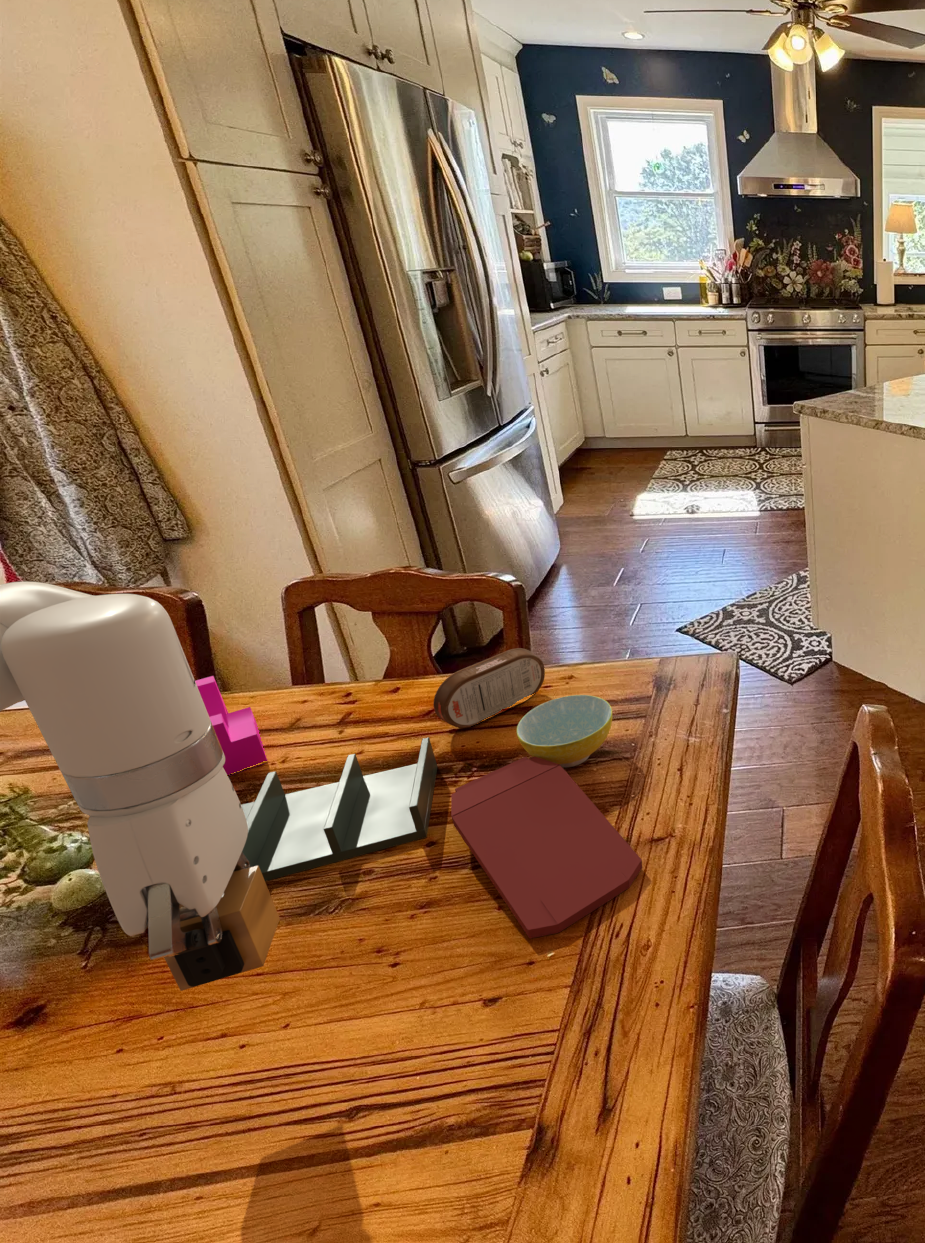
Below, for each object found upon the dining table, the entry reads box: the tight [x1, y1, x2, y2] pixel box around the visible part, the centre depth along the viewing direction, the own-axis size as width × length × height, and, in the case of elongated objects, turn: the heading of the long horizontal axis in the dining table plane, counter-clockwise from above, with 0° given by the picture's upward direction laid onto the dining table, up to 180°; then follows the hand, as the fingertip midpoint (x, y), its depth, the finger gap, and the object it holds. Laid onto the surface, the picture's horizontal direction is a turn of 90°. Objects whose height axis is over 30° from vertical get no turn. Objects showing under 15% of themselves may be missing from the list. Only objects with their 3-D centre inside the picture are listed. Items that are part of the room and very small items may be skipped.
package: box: [163, 866, 281, 992], centre depth 58 cm, size 5×5×6 cm
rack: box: [241, 737, 438, 882], centre depth 84 cm, size 24×14×5 cm, turn 117°
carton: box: [450, 756, 643, 939], centre depth 83 cm, size 12×5×25 cm
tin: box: [433, 647, 546, 729], centre depth 106 cm, size 15×3×8 cm, turn 148°
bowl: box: [516, 694, 613, 768], centre depth 97 cm, size 11×12×6 cm
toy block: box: [195, 675, 268, 777], centre depth 97 cm, size 15×6×8 cm, turn 45°
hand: (229, 945), depth 59 cm, fingers closed on package, 5 cm apart
